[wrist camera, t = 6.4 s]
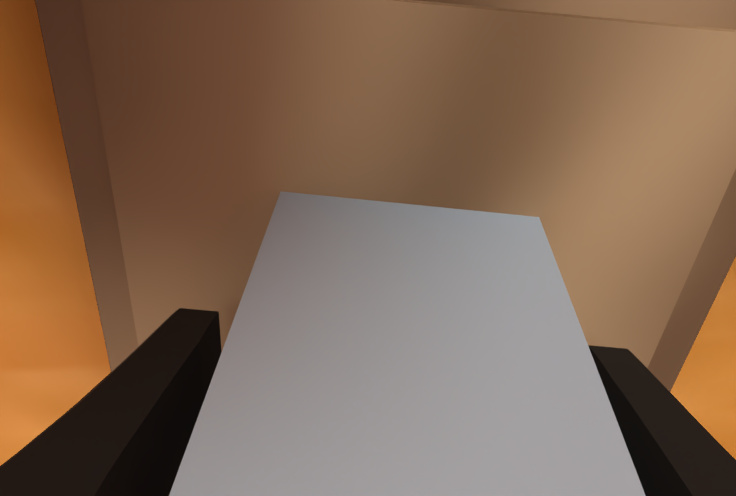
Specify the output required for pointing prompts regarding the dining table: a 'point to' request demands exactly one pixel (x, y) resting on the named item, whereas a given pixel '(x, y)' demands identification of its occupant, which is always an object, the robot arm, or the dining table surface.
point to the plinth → (403, 142)
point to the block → (404, 364)
